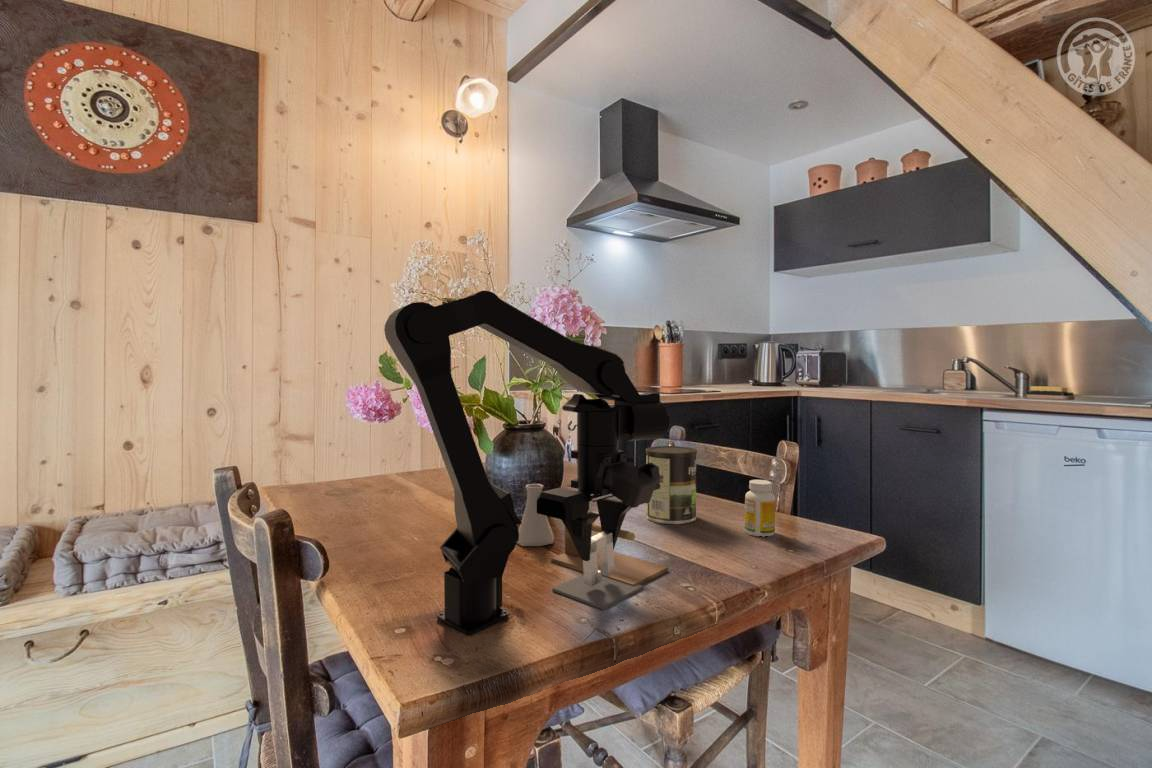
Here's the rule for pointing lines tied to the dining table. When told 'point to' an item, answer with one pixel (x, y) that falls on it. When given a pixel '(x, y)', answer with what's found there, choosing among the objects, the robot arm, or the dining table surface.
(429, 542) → the dining table surface
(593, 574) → the slotted rectangular block
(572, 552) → the link stand
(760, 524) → the supplement bottle
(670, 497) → the coffee can
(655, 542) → the dining table surface
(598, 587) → the slate coaster
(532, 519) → the flask
